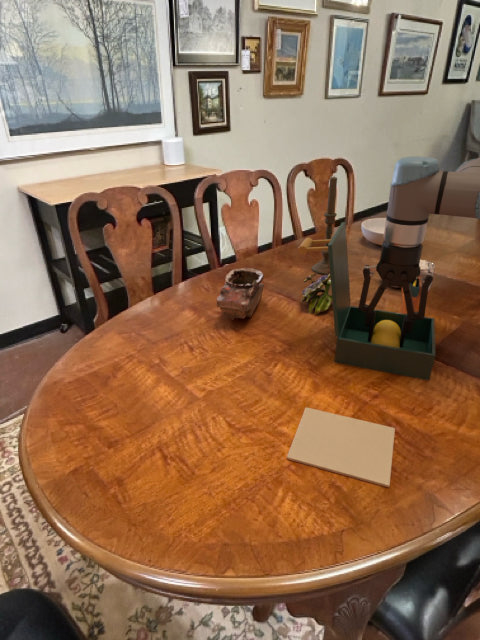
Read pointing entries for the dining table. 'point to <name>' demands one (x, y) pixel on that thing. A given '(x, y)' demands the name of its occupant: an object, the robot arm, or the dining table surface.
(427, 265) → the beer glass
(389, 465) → the placemat
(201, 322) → the dining table surface
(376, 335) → the yellow capsule
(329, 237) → the candlestick holder
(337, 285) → the lid
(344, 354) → the open box
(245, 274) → the brown shoe shaped pot
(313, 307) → the passion flower
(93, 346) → the dining table surface
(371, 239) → the serving bowl
